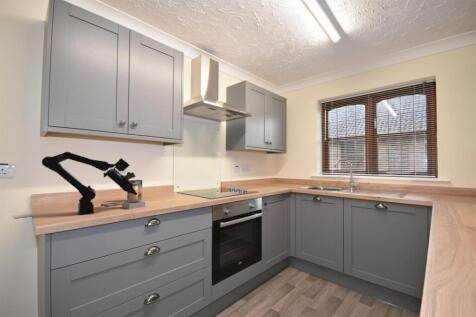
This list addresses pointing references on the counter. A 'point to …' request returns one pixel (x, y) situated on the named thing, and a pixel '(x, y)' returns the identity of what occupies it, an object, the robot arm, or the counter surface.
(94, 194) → the robot arm
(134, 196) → the jar
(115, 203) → the trivet
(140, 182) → the coffee box
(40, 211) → the counter surface
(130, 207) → the holder
